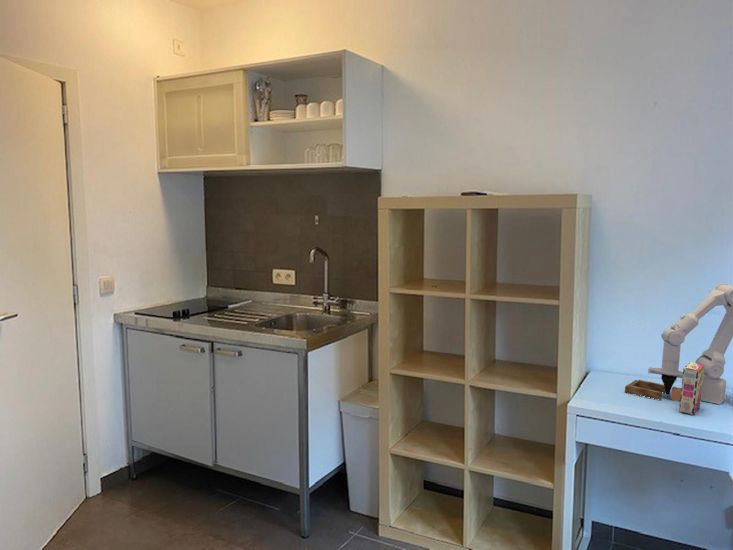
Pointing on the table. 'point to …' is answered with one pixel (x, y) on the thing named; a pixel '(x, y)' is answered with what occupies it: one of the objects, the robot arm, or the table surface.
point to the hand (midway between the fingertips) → (667, 394)
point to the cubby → (645, 389)
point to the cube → (676, 393)
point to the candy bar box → (691, 388)
